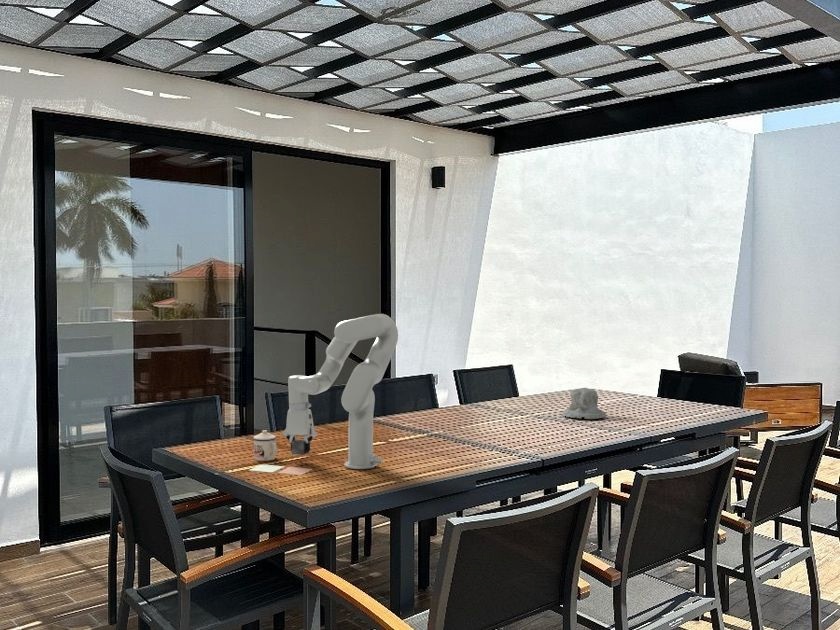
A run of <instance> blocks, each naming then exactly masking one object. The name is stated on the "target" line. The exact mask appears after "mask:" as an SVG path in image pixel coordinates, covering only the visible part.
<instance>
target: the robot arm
mask: <svg viewBox="0 0 840 630" xmlns="http://www.w3.org/2000/svg"><path fill="white" fill-rule="evenodd" d="M396 324H397V323H396V322H395V321H394V320H393V319H392V317H390V316H389V315H387V314H386V313H385V314H384V313H375V314H370V315H366V316H361V317H357V318H352V319H348V320H347V319H346V320H343V321H340V322H338V323H337V324H336V326H335V327H334V331H333V333H334V337H333V338H332V339H331V342H330V343H329V345H328V346H327V347H326V349H325V354H326V356H325V357H326V358H325V360H324V363H323V365H322V366H321V367H320V369H319V371H318V372H317V373H316V374H313V375H309V376H307V375H303V374H295V375H290V376H288V380H287V383H288V384H287V385H288V407H289V408H288V410H287V414H286V427H285V429H284V430H283V432H282V435H283V436H284V437H285V438H286V439H287V440H288V441H289V444H290V450H291V451H292V441H294V440H296V439H297V438H296V437H298V436H303V439H305V443H304V449H305V453H306V454H308V453H310V451H311V442H312V440H313V439H314V438H315V437H317V435H318V433H317V431H316V430H315V428H314V427H315V426H314V420H313V419H314V418H313V414H312V410H311V409H309V408H311V407H312V404H311V403H310V401H309V395H310V396H311V395H313V396H314V395H315V396H316V395H318V394H321V393H323V392H326V391H328V389H330V388H331V387H332V385H333V384H334V382H335V381H336V379H337V378H338V376H339V374H340V373H341V370H342V368H343V366H344V364H345V361H346V359H347V358H348V357H349V355H350V354H351V352H352V351H353V349H354V348H355V346H356V345H357V343H358V342H359V341H363V340H368V339H373V338H375V341H374V343H373V344H372V346H371V347H370V350H369V353H368V355H367V356H366V358H365V360H364V361H363V362H360V363H359V364H357V365H356V366H355V367H354V369H353V371H352V372H351V375H350V376H349V378H348V380H347V383H346V385H345V387H344V390H343V392H342V394H341V399H340V400H341V401H340V402H341V405H342V407H343V409H344V410H345V411H346V412H349V413H348V429H347V431H348V445H347V446H348V453H347V455H348V459H347V460H346V461H345V462H344V467H346V468H347V469H352V470H353V469H354V470H368V469H373V468H375V466H376V467H377V465H378V464H383V458H382V457H377V456H376V453H374V446H373V445H374V411H375V403H376V402H375V401H376V397H375V392H374V390H373V387H374V386H375V385H377V384H379V383H380V382H381V381H382V379H383V377H384V375H385V372H386V370H387V368H388V366H389V363H390V361H391V359H392V356H393V354H394V352H395V349H396V347H397V345H398V340H399V330H398V327H397V325H396Z"/></svg>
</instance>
